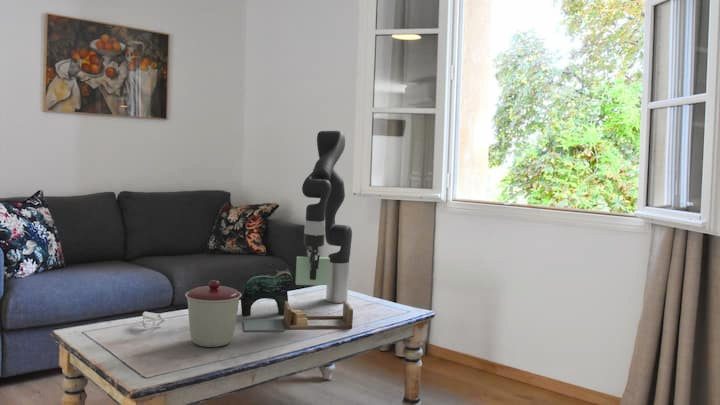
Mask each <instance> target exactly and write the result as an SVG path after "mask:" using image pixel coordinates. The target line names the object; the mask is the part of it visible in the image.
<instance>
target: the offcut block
mask: <svg viewBox="0 0 720 405" xmlns="http://www.w3.org/2000/svg"><path fill="white" fill-rule="evenodd" d="M306 316H307V314H306V312H303V310H301V309H293V310H292V309H291V323H290V324H292V326H297V325H309V323H308V319H307V318H306Z"/></svg>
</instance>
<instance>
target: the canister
mask: <svg viewBox="0 0 720 405" xmlns="http://www.w3.org/2000/svg"><path fill="white" fill-rule="evenodd" d="M220 284H221V283H220V281H219V280H217V279H212V280H210V281H209V282H208V285H204V286H198V287H194V288H192V289H190V290H189V291H187V292H186V293H185V296H184V297H186V298H187V308H188V309H187V310H188V322H189V323H188V324H189V331H190V339H191V340H192V342H193V343H194V344H195V345H196V346H199V347H205V348H217V347H223V346H227V345H228V344H230V343H231V341H232V340H233V338H234V335H235V329H236V325H237V323H236V322H237V318H238V311H239V304H240V299H241V296H242V294H241V292H240V291H238V290H237V289H236V288H232V287H229V286H224V285H220Z"/></svg>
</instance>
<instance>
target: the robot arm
mask: <svg viewBox="0 0 720 405" xmlns="http://www.w3.org/2000/svg"><path fill="white" fill-rule="evenodd" d="M316 146H317V153H318V160H317V161H316V162H315V164H314V168H313V170H312V172H311V173H310V174H309V175H308V176H307V177H306V178H305V179H304V181H303V183H302V187H301V189H302V191H301V192H302V193H303V196H305V197H307V198H311V199H312V198H313V199H319V201H318V203H312V204H308V205H307V206H306V209H305V222H304V232H303V245H304V246H305V247H306V246H307V247H308V248H309V249H307V251H306V252H307V257H309V263H310V280H316V270H317V269H318V265H319V257H321V256H320V250H319V247H324V246H325V241H326V244H328V245H329V246H334V247H340V249H339V250H338V251H337V252H333V253H330V254H328V256H327V257H329V258H330V267H329V285H326V295H325V301H326V302H329V303H334V304H341V303H343V301H347V302H348V291H349V273H350V272H349V270H350V256H351V250H352V238H353V231H352V227H351V226H350V225H345V224H336V215H337V213H338V211H339V209H340V208H341V206H342V205H343V202H344V200H345V198H346V193H345V182H344V180H343V178H342V176H341V175H340V173H339V172H338V171H337V169H335V165H336V164H337V162H338V161H339V160H340V158H341V156H342V155H343V153H344V150H345V146H346V137H345V133H344V132H343V131H340V130H321V131H319V132H318V133H317V136H316ZM311 260H312V261H311ZM313 264H316V265H315V266H313Z"/></svg>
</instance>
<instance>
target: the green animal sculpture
mask: <svg viewBox="0 0 720 405" xmlns="http://www.w3.org/2000/svg"><path fill="white" fill-rule="evenodd" d="M270 266H275V267H276V268H278V266H277V265H276V264H275V263H270V264H268V266H267V268H270ZM274 271H275V272H274V274H267V273H263V272H253V273H250V274H249V275H247V277H246V278H245V280H244V285H243V287H242V288H241V290H240V291H241V292H240V293H241V294H242V296H241V297H240V308H241V315H242V316H243V317H250V316H251V315H252V314H251V313H252V311H251V310H252V306H253V305H254V303H255V302H257V301H259V300H262V299H264V300H265V299H267V300H274V301H275V303H276V306H277V313H278V315H279V316H281V315H284V305H285V301H288V302H289V295H288V288H290V287H291V285H292V282H293V277H292V275H291V272H290V269H289V267H287V268H286V270H281V271H279V270H278V269H274ZM257 274H261V275H257ZM252 275H255V276H252ZM251 276H252V277H251ZM250 277H251V278H250Z"/></svg>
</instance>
